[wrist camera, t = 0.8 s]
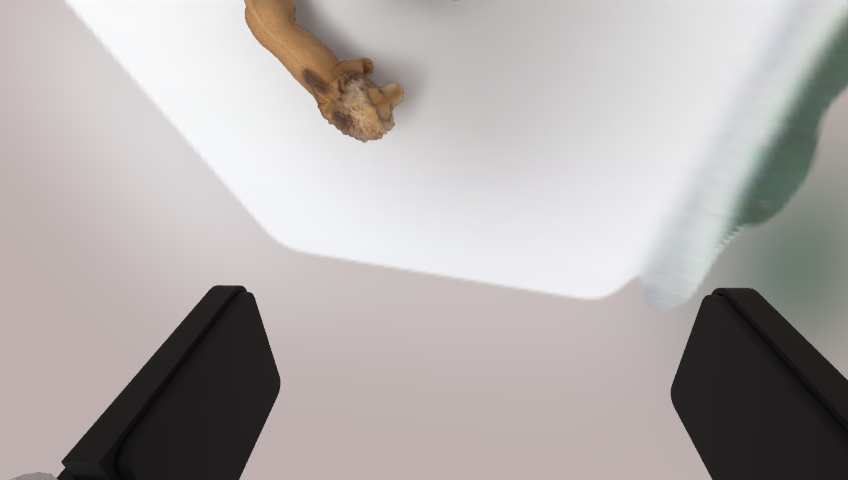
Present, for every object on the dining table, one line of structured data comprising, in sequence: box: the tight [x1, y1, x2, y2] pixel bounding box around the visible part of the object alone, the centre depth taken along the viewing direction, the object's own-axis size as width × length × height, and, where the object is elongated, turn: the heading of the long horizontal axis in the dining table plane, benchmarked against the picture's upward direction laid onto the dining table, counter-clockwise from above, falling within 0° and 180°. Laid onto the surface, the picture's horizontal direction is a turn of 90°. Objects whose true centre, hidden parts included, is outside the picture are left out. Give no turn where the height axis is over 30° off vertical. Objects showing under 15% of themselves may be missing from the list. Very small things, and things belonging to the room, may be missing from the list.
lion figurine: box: [244, 0, 403, 143], centre depth 29 cm, size 15×5×9 cm, turn 53°
